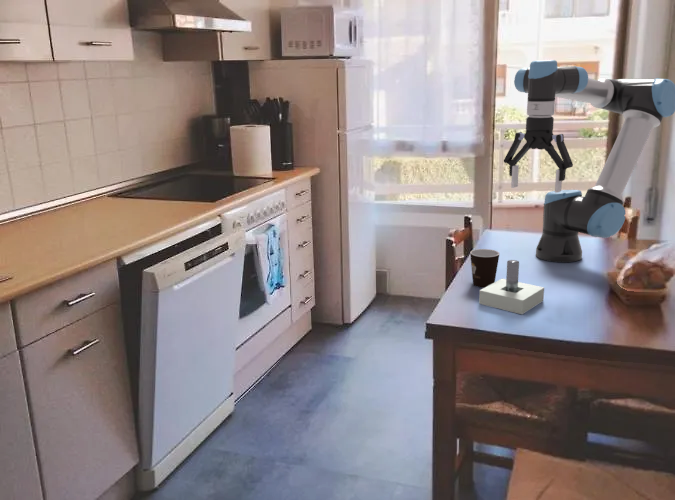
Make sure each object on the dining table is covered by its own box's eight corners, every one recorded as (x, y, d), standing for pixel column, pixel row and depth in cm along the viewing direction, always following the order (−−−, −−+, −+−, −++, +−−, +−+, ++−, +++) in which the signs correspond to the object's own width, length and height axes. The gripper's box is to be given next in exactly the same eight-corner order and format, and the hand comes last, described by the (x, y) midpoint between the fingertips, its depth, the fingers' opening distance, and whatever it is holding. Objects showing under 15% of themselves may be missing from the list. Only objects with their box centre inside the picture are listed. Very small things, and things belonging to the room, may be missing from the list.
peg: (508, 299, 180) (510, 259, 177) (519, 301, 178) (521, 261, 175) (503, 302, 178) (505, 262, 174) (513, 305, 176) (515, 264, 172)
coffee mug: (498, 289, 188) (500, 257, 185) (469, 288, 190) (470, 256, 187) (497, 277, 199) (498, 246, 196) (469, 276, 201) (470, 245, 198)
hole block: (501, 291, 187) (502, 278, 185) (543, 300, 178) (544, 287, 177) (479, 303, 177) (479, 290, 176) (522, 314, 169) (522, 300, 168)
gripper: (494, 116, 186) (491, 186, 192) (577, 118, 170) (571, 196, 176) (506, 114, 191) (503, 183, 197) (588, 116, 175) (582, 191, 181)
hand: (535, 189), depth 187 cm, fingers open, 13 cm apart
